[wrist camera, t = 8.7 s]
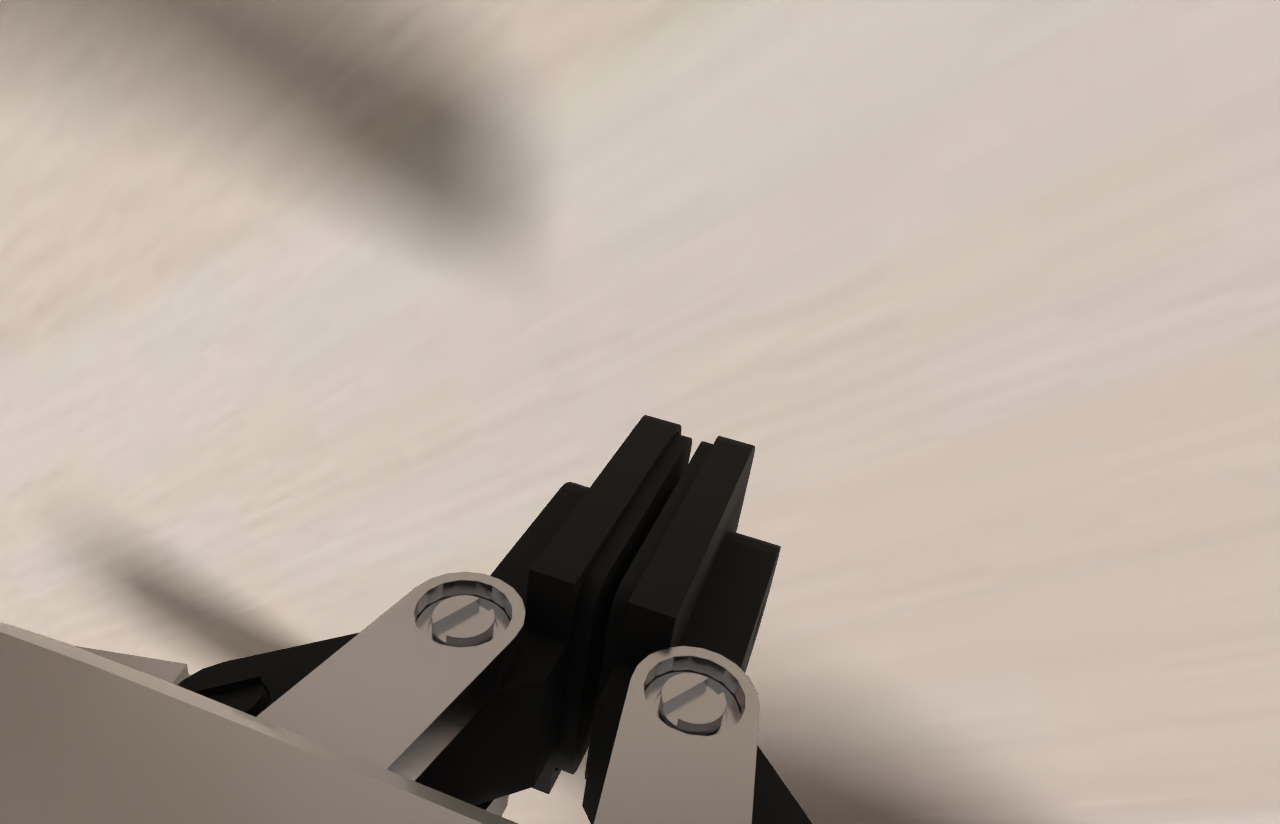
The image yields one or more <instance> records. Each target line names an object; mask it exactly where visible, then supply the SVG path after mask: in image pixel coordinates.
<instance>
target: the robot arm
mask: <svg viewBox="0 0 1280 824" xmlns="http://www.w3.org/2000/svg"><path fill="white" fill-rule="evenodd" d="M691 446H692V438H689V437H686V436H682V435H681V425H679V424H675V423H672V422H668V421H665V420H661V419H658V418H654V417H650V416H647V415H644V416H643V417H642V418H641V420H640V421H639V422H638V424H637V425H636V426H635V428H634V429H633V430H632V432H631V433H630V435H629V436H628V437H627V439H626V440H625V441H624V443H623V444H622V445H621V447H620V448H619V449H618V451H617V452H616V453H615V455H614V456H613V457H612V459H611V460H610V461H609V463H608V464H607V465H606V467H605V468H604V469H603V471H602V472H601V473H600V475H599V476H598V477H597V479H596V480H595V482H594V483H593V484H592V486H591V487H590V488H589V487H585V486H582V485H579V484H576V483H572V482H567V483H565V484H564V485H563V486H562V487H561V488H560V489H559V491H558V492H557V493H556V494H555V496H554V497H553V498H552V499H551V501H550V502H549V503H548V504H547V506H546V507H545V508H544V509H543V511H542V512H541V513H540V514H539V516H538V517H537V518H536V519H535V521H534V522H533V523H532V524H531V526H530V527H529V528H528V529H527V531H526V532H525V533H524V534H523V535H522V537H521V538H520V539H519V540H518V542H517V543H516V544H515V545H514V547H513V548H512V549H511V550H510V552H509V553H508V554H507V555H506V557H505V558H504V559H503V560H502V562H501V563H500V564H499V565H498V567H497V568H496V569H495V570H494V572H493V573H492V574H491V575H490V576H489V575H486V574H481V573H472V572H458V573H448V574H444V575H441V576H438V577H434V578H431V579H429V580H427V581H426V582H424V583H422V584H421V585H419V586H417V587H416V588H414V589H413V590H412V591H411V592H409V593H408V594H407V595H406V596H404V597H403V598H402V599H401V600H399V601H398V602H397V603H396V604H395V605H393V606H392V607H391V608H390V609H388V610H387V611H386V612H385V613H383V614H382V615H381V616H380V617H379V618H377V619H376V620H375V621H374V622H372V623H371V624H370V625H369V626H367V627H366V628H365V629H364V630H362V631H361V632H360V633H356V634H351V635H346V636H342V637H337V638H333V639H328V640H323V641H319V642H314V643H310V644H305V645H300V646H296V647H291V648H287V649H282V650H277V651H273V652H268V653H263V654H259V655H254V656H250V657H245V658H240V659H236V660H231V661H227V662H223V663H220V664H217V665H214V666H210V667H207V668H204V669H202V670H200V671H198V672H197V673H195V674H193V675H189V674H188V668H187V664H183V663H177V662H171V661H165V660H159V659H152V658H146V657H140V656H134V655H128V654H121V653H115V652H109V651H103V650H96V649H90V648H84V647H78V646H73V645H70V644H67V643H64V642H61V641H58V640H55V639H52V638H49V637H46V636H43V635H40V634H37V633H34V632H31V631H28V630H25V629H22V628H18V627H15V626H12V625H9V624H4V623H0V824H518V823H515V822H513V821H510V820H508V819H505V818H503V817H501V816H502V814H503V812H504V811H505V809H506V807H507V804H508V798H509V794H512V793H515V792H518V791H522V790H525V789H528V788H531V787H532V788H534V789H537V790H539V791H542V792H544V793H547V794H549V793H550V791H551V789H552V787H553V785H554V783H555V781H556V780H557V778H558V776H559V774H560V772H561V770H563V771H565V772H568V773H571V774H574V773H575V772H576V771H577V769H578V767H579V765H580V763H581V761H582V759H583V757H584V755H585V753H586V751H587V749H588V747H589V751H588V757H587V764H586V771H585V779H586V786H585V792H584V799H583V805H582V806H583V808H584V810H585V812H586V814H587V816H588V819H589V821H590V823H591V824H812V823H811V821H810V820H809V819H808V817H807V816H806V814H805V813H804V811H803V810H802V808H801V807H800V806H799V804H798V803H797V801H796V800H795V798H794V797H793V796H792V794H791V793H790V791H789V790H788V788H787V787H786V786H785V784H784V783H783V781H782V780H781V778H780V777H779V775H778V774H777V773H776V771H775V770H774V768H773V767H772V765H771V764H770V763H769V761H768V760H767V758H766V757H765V755H764V754H763V753H762V751H761V750H760V748H759V747H758V745H757V739H758V725H759V711H760V708H759V700H758V693H757V691H756V689H755V687H754V685H753V683H752V681H751V680H750V678H749V677H748V676H747V675H746V674H745V672H746V668H747V665H748V662H749V659H750V656H751V653H752V649H753V646H754V643H755V640H756V636H757V633H758V630H759V626H760V623H761V619H762V616H763V612H764V609H765V605H766V602H767V598H768V594H769V591H770V587H771V583H772V579H773V576H774V572H775V568H776V564H777V560H778V557H779V552H780V548H781V546H778V545H775V544H771V543H768V542H765V541H762V540H758V539H755V538H752V537H748V536H745V535H742V534H739V533H736V531H737V527H738V522H739V518H740V514H741V509H742V505H743V501H744V496H745V492H746V488H747V483H748V479H749V475H750V470H751V466H752V462H753V457H754V452H755V446H753V445H750V444H746V443H743V442H739V441H736V440H732V439H729V438H725V437H721V436H718V437H717V439H716V441H715V442H714V444H710V443H707V442H703V441H702V442H701V443H700V445H699V447H698V448H697V450H696V452H695V453H694V455H693V457H692V459H691V460H690V462H689V457H690V452H691ZM688 462H689V464H688Z"/></svg>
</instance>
